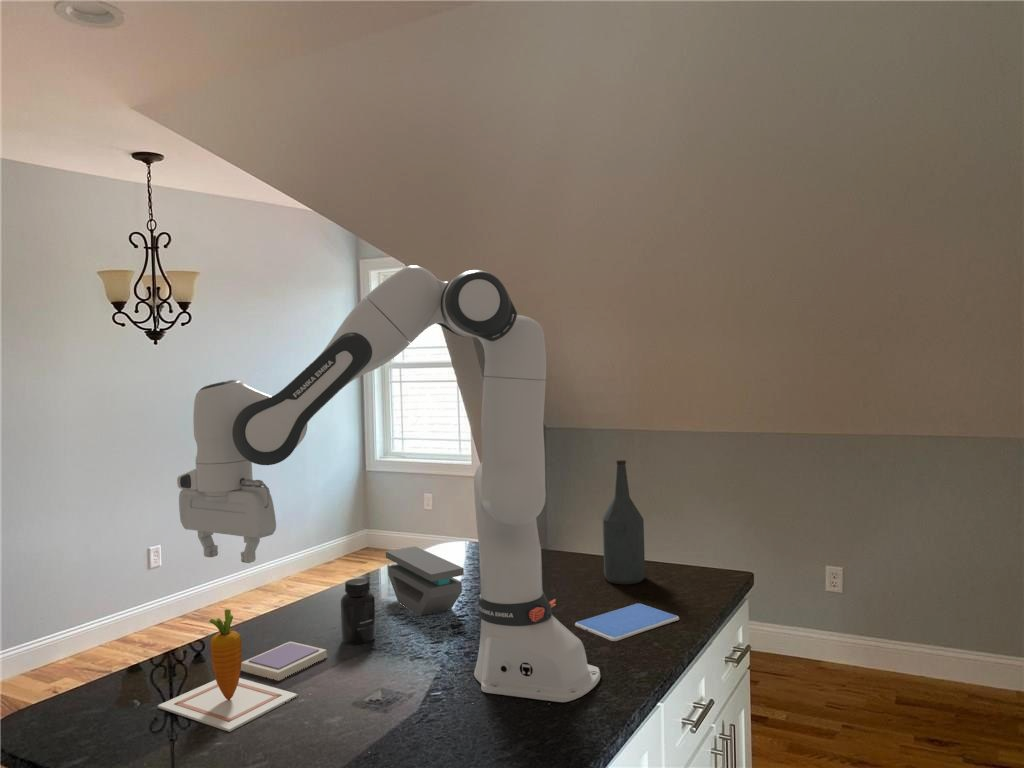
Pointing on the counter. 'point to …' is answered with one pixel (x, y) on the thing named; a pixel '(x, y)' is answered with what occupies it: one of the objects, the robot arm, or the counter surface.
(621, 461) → the bottle
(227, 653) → the carrot
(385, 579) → the counter surface
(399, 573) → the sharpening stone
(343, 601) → the supplement bottle
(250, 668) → the ink pad
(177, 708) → the print card
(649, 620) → the tablet computer
